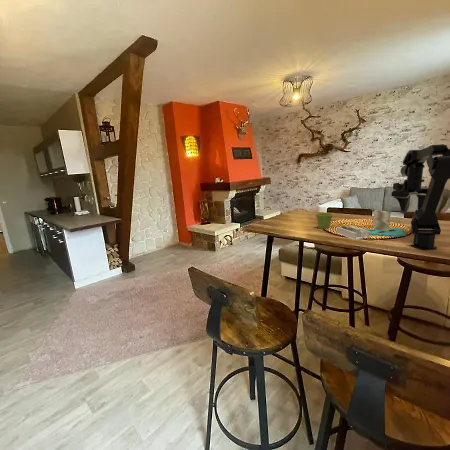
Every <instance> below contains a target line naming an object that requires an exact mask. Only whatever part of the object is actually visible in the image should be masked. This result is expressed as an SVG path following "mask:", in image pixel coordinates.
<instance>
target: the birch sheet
mask: <svg viewBox="0 0 450 450" xmlns="http://www.w3.org/2000/svg"><path fill="white" fill-rule="evenodd" d="M373 213H374V214H373V222H372V223H373V224H372V229H373V230H374V229H378V230H381V231H385V232H389V229H390V222H391V212H390V211H385V210H380V209H374V212H373Z"/></svg>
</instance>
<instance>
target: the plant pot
mask: <svg viewBox="0 0 450 450" xmlns="http://www.w3.org/2000/svg"><path fill="white" fill-rule="evenodd" d="M333 215H334V214H333V213H331V212H318V213H315V217H316V220H317V221H316V222H317V227H318V228H319V229H329V228H330V227H331V222H332V217H333Z"/></svg>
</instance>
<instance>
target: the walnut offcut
mask: <svg viewBox="0 0 450 450" xmlns="http://www.w3.org/2000/svg"><path fill="white" fill-rule="evenodd" d="M347 226H348V225H341V226H340V228H343V229H346V230H349V231H351V228H350V227H349V226H348V227H347Z"/></svg>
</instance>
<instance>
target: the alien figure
mask: <svg viewBox="0 0 450 450" xmlns="http://www.w3.org/2000/svg"><path fill="white" fill-rule="evenodd" d="M361 229H364V230H367V231H370V236H379V237H382V236H385V237H388V238H389V237H394V238H397V237H404V236H405V237H406V236H407V234H406V230H405V229H404V228H399V227H392V228H390V227H389V232H385V231H381V230H378V229H374V228H372V229H371V228H361Z"/></svg>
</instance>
